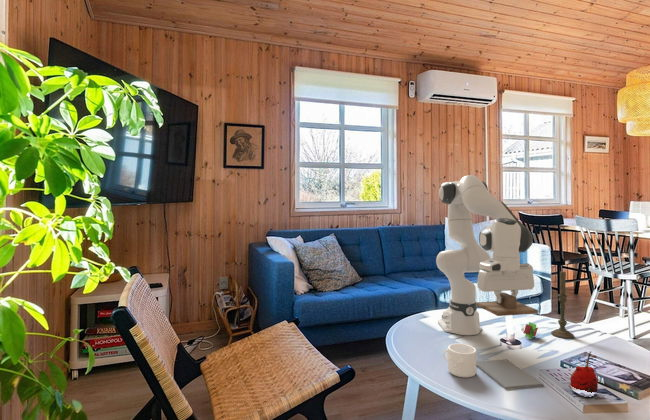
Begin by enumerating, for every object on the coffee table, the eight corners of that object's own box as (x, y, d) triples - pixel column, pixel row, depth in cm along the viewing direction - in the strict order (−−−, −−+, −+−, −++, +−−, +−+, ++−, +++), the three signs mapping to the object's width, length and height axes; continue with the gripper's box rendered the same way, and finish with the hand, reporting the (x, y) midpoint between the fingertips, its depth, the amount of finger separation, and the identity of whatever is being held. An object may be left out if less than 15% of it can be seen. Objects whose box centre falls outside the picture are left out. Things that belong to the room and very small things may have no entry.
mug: (436, 371, 140) (436, 347, 140) (450, 363, 147) (450, 339, 147) (468, 382, 132) (468, 356, 131) (480, 372, 139) (480, 348, 139)
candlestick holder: (579, 337, 173) (579, 271, 172) (564, 340, 169) (565, 272, 169) (560, 330, 181) (560, 267, 180) (546, 333, 178) (546, 269, 177)
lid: (476, 305, 142) (476, 291, 142) (513, 303, 144) (513, 289, 144) (497, 316, 129) (497, 300, 129) (537, 313, 131) (537, 298, 131)
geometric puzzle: (534, 329, 178) (525, 316, 176) (546, 334, 171) (537, 321, 170) (524, 339, 176) (515, 327, 175) (535, 345, 170) (526, 332, 168)
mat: (473, 363, 146) (473, 361, 146) (506, 361, 148) (506, 359, 148) (505, 389, 127) (505, 387, 127) (543, 385, 129) (543, 383, 129)
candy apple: (589, 388, 126) (590, 344, 126) (603, 400, 119) (604, 352, 119) (565, 388, 127) (566, 343, 126) (578, 399, 120) (578, 352, 119)
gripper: (526, 261, 141) (526, 298, 141) (475, 263, 138) (475, 301, 138) (538, 264, 135) (538, 303, 135) (484, 266, 132) (484, 306, 132)
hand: (505, 302), depth 137 cm, fingers closed on lid, 3 cm apart
